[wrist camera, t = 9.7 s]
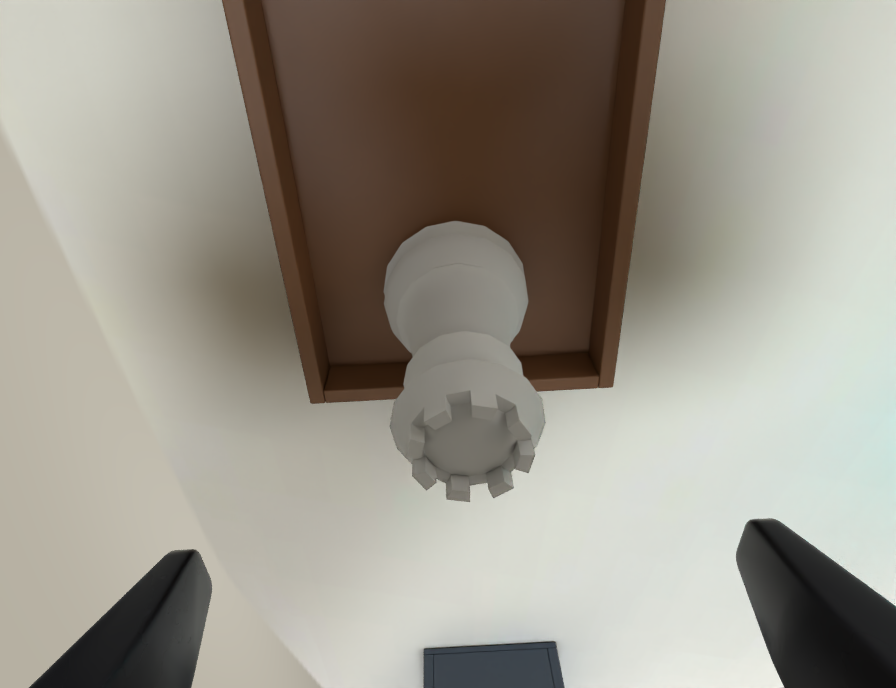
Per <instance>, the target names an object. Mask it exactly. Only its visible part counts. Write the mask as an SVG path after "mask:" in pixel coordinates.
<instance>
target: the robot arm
mask: <svg viewBox="0 0 896 688" xmlns="http://www.w3.org/2000/svg"><path fill="white" fill-rule="evenodd" d="M736 561H737V565H738V569H739V571H740V574H741V577H742V580H743V583H744V585H745V588H746V591H747V594H748V596H749V599H750V602H751V605H752V607H753V610H754V613H755V616H756V619H757V621H758V624H759V627H760V630H761V632H762V635H763V638H764V641H765V643H766V646H767V649H768V651H769V654H770V656H771V659H772V661H773V664H774V666H775V668H776V670H777V673H778V675H779V677H780V679H781V681H782V683H783V685H784V687H785V688H896V606H895V605H893V604H892V603H891V602H889V601H888V600H886V599H885V598H884V597H882V596H881V595H880V594H878V593H877V592H875V591H874V590H873V589H871V588H870V587H869V586H867V585H866V584H865V583H863V582H862V581H860V580H859V579H858V578H856V577H855V576H854V575H852V574H851V573H850V572H848V571H847V570H845V569H844V568H843V567H841V566H840V565H839V564H837V563H836V562H835V561H833V560H832V559H830V558H829V557H828V556H826V555H825V554H824V553H822V552H821V551H819V550H818V549H817V548H815V547H814V546H813V545H811V544H810V543H809V542H807V541H806V540H804V539H803V538H802V537H800V536H799V535H798V534H796V533H795V532H794V531H792V530H791V529H789V528H788V527H787V526H785V525H784V524H783V523H781V522H780V521H778V520H776V519H770V518H769V519H752V520H750V521H748V522H747V523H746V525H745V528H744V531H743V534H742V537H741V540H740V543H739V545H738V548H737V552H736ZM211 593H212V583H211V579H210V576H209V574H208V572H207V569H206V567H205V565H204V562H203V560H202V558H201V555H200V554H199V552H198V551H196V550H193V549H192V550H175V551H171V552H170V553H168V554H167V555H165V556H164V557H163V558H162V559H161V560H160V561H159V562H158V563H157V564H156V565H155V566H154V567H153V568H152V569H151V570H150V571H149V572H148V573H147V574H146V575H145V576H144V577H143V578H142V579H141V580H140V581H139V582H138V583H136V585H134V586H133V587H132V588H131V589H130V590H129V591H128V592H127V593H126V594H125V595H124V596H123V597H122V598H121V599H120V600H119V601H118V602H117V603H116V604H115V605H114V606H113V607H112V608H111V609H110V610H109V611H108V612H107V613H106V614H105V615H103V616H102V617H101V618H100V619H99V621H97V622H96V623H95V624H94V625H93V626H92V627H91V628H90V629H89V630H88V631H87V632H86V633H85V634H84V635H83V636H82V637H81V638H80V639H79V640H78V641H77V642H76V643H75V644H74V645H73V646H72V647H70V648H69V649H68V650H67V651H66V652H65V653H64V654H63V655H62V656H61V657H60V658H59V659H58V660H57V661H56V662H55V663H54V664H53V665H52V666H51V667H50V668H49V669H48V670H47V671H46V672H45V673H44V674H43V675H42V676H41V677H40V678H38V679H37V680H36V681H35V682H34V683H33V684H32V685H31V686H30V687H29V688H191V686H192V681H193V677H194V673H195V668H196V664H197V659H198V654H199V649H200V645H201V641H202V636H203V631H204V627H205V622H206V617H207V613H208V608H209V603H210V599H211Z"/></svg>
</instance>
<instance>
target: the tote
mask: <svg viewBox="0 0 896 688" xmlns="http://www.w3.org/2000/svg"><path fill="white" fill-rule="evenodd" d="M424 688H564V683H563V678H562V673H561V668H560V663H559V658H558V653H557V649H556V643H555V642H548V643H530V644H512V645H494V646H475V647H457V648H439V649H424Z"/></svg>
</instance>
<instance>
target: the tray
mask: <svg viewBox="0 0 896 688" xmlns="http://www.w3.org/2000/svg"><path fill="white" fill-rule="evenodd" d="M222 3H223V7H224V12H225V16H226V21H227V25H228V30H229V35H230V39H231V44H232V48H233V53H234V57H235V62H236V66H237V71H238V76H239V80H240V85H241V89H242V94H243V98H244V103H245V107H246V112H247V116H248V121H249V126H250V130H251V135H252V139H253V144H254V148H255V153H256V157H257V162H258V167H259V171H260V176H261V180H262V185H263V189H264V194H265V198H266V203H267V207H268V212H269V217H270V221H271V226H272V230H273V235H274V239H275V244H276V248H277V253H278V258H279V262H280V267H281V271H282V276H283V280H284V285H285V289H286V294H287V299H288V303H289V308H290V312H291V317H292V321H293V326H294V330H295V335H296V339H297V344H298V349H299V353H300V358H301V362H302V367H303V371H304V376H305V380H306V385H307V390H308V394H309V399H310V403H311V404H315V403H325V401H326V403H332V402H350V401H369V400H387V399H397V398H398V396H399V395H400V394H401V392H402V391H403V390H404V385H403V384H404V379H405V373H406V368H407V365H408V363H409V362H410V360H411V359H412V358H413V357H412V353H410V352H409V351H408V350H407V349H406V347H405V346H404V345H403V344H402V343H401V342H400V340H399V339H398V338H397V337H396V336H395V335H394V333H393V331H392V329H391V326H390V323H389V320H388V316H387V313H386V310H385V306H384V300H385V295H384V285H385V278H386V271H387V266H388V264H389V262H390V261H391V259H392V258H393V256H394V255H395V253H396V252H397V250H398V248H399V247H400V245H401V244H402V243H403V242H404V241H406V240H407V239H409V238H410V237H412V236H413V235H415V234H416V233H418V232H419V231H421V230H422V229H424V228H425V227H427V226H432V225H437V224H442V223H447V222H451V221H460V222H465V223H471V224H477V225H482V226H485V227H487V228H488V229H490V230H492V231H493V232H495V233H496V234H498V235H499V236H501V237H502V238H504V239H505V240H507V241H508V242H509V243H510V245H511V246H512V248H513V249H514V251H515V253H516V254H517V256H518V257H519V259H520V260H521V262H522V263H523V269H524V276H525V281H526V288H527V295H528V305H527V309H526V312H525V315H524V319H523V322H522V325H521V329H520V331H519V333H518V334H517V335H516V336H515V337H514V339H513V341H512V342H511V343H510V348H511V350H512V351H513V352H514V354H515V355H516V356H517V358H518V359H519V361H520V362H521V365H522V371H523V376H524V377H526V378H527V379H528V381H529V382H530V383H531V385H532V386H533V387H534V389H535V390H536V391H554V390H572V389H591V388H598V387H599V388H609V387H613V384H614V376H615V369H616V362H617V354H618V347H619V340H620V332H621V325H622V318H623V310H624V303H625V296H626V288H627V281H628V274H629V266H630V259H631V252H632V244H633V237H634V230H635V222H636V215H637V208H638V201H639V193H640V186H641V179H642V171H643V164H644V157H645V149H646V142H647V135H648V127H649V120H650V113H651V105H652V98H653V91H654V83H655V76H656V69H657V61H658V54H659V47H660V39H661V32H662V25H663V17H664V10H665V3H666V0H222Z"/></svg>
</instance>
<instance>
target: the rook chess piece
mask: <svg viewBox="0 0 896 688" xmlns="http://www.w3.org/2000/svg"><path fill="white" fill-rule="evenodd" d="M384 295H385V300H384V306H385V310H386V313H387V316H388V320H389V323H390V326H391V329H392V331H393V333H394V335H395V336H396V337H397V338H398V339H399V340H400V342H401V343H402V344H403V345H404V346H405V347H406V349H407V350H408V351H409V352H410V353H412V357H413V358H412V359H411V360H410V362H409V363H408V365H407V368H406V373H405V379H404V384H403V385H404V390H403V391H402V392H401V394H400V395H399V396H398V398H397V399H396V400H395V402H394V406H393V411H392V417H391V422H390V429H391V432H392V435H393V438H394V441H395V444H396V446H397V449H398V450H399V451H400V452H401V453H402V454H403V455H404V456H405V457H406V458H407V459H408V460H409V461H410V462H411V463H412V464H413V467H412V476H413V477H414V478H415V479H416V480H417V481H418V482H419V483H420V484H421V485H422V486H423V487H424V488H425V490H428V489H429V488H430V487H432V486H433V485H434V484H435V483H436V479H438V480H440V481H442V482H445V483H446V497H447V500H456V501H465V502H470V485H476V484H482V483H488V489H489V491H490V493H491V495H492V497H493V498H495V497H497V496H499V495H501V494H503V493H505V492H507V491H509V490H511V489H513V488H514V487H513V481H512V475H511V472H512V471H513V470H514V469H516V470H519V471H523V472H526V473H529V470H530V468H531V465H532V462H533V460H534V457H535V452H534V448H535V447H536V446H537V445H538V442H539V439H540V437H541V434H542V431H543V428H544V426H545V416H544V409H543V402H542V398H541V397H540V396H539V394H538V393H537V391H536V390H535V389H534V387H533V386H532V385H531V383H530V382H529V381H528V379H527V378H526V377H524V376H523V371H522V365H521V362H520V361H519V359H518V358H517V356H516V355H515V354H514V352H513V351H512V350H511V348H510V343H511V342H512V341H513V339H514V337H515V336H516V335H517V334H518V333H519V331H520V329H521V325H522V322H523V319H524V315H525V312H526V309H527V305H528V295H527V288H526V281H525V276H524V269H523V263H522V262H521V260H520V259H519V257H518V256H517V254H516V253H515V251H514V249H513V248H512V246H511V245H510V243H509V242H508V241H507V240H505V239H504V238H502V237H501V236H499V235H498V234H496V233H495V232H493V231H492V230H490V229H488V228H487V227H485V226H482V225H477V224H471V223H465V222H460V221H451V222H447V223H442V224H437V225H432V226H427V227H425V228H424V229H422V230H421V231H419V232H418V233H416V234H415V235H413V236H412V237H410V238H409V239H407V240H406V241H404V242H403V243H402V244H401V245H400V247H399V248H398V250H397V252H396V253H395V255H394V256H393V258H392V259H391V261H390V262H389V264H388V266H387V271H386V278H385V285H384Z"/></svg>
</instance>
